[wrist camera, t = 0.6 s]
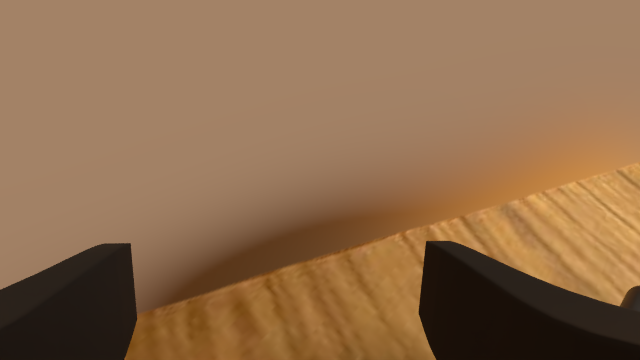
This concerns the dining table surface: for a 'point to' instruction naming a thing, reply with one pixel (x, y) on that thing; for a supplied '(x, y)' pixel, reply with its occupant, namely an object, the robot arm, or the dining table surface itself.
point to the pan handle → (632, 299)
